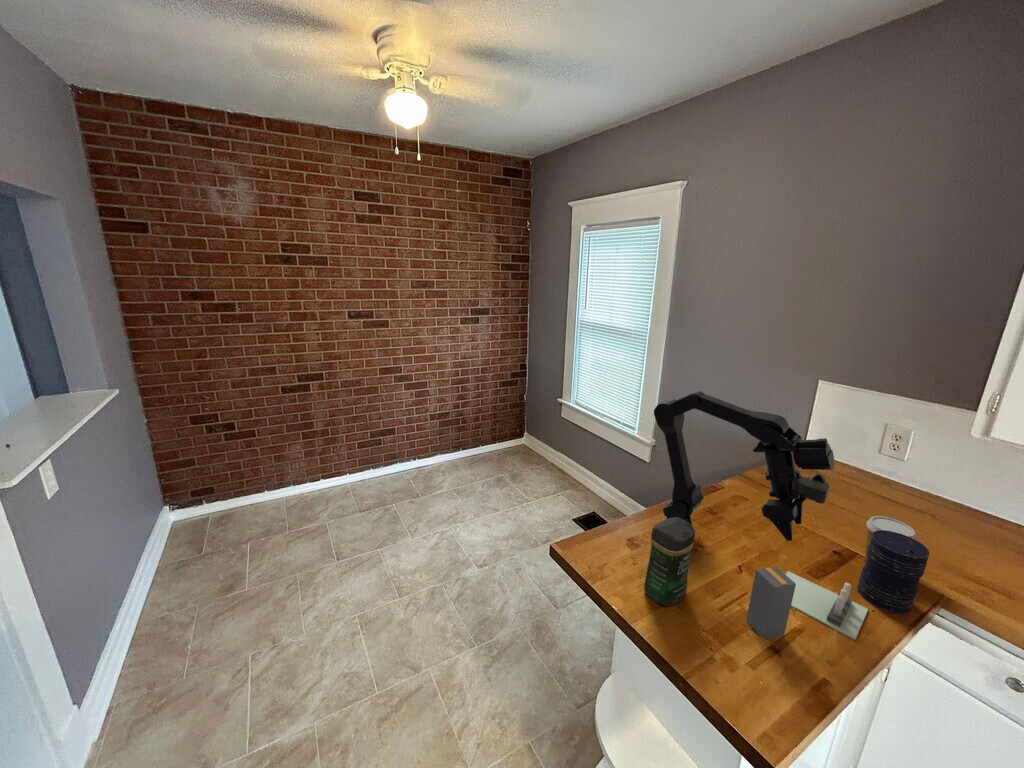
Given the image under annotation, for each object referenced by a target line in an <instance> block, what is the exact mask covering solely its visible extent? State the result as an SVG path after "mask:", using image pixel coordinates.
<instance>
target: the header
mask: <svg viewBox="0 0 1024 768" xmlns="http://www.w3.org/2000/svg"><path fill="white" fill-rule="evenodd" d="M784 574H785V575H786V576H788V577H789V578H790V579H791V580H792V581H793V582H794V583H796V587H795V591H794V595H793V599H792V604H791V608H793V609H795V610H798V611H799V612H801V613H803V614H804V615H806V616H809V617H810V618H813V619H815V620H816V621H818V622H819V623H822V624H824V625H825V626H828V627H829V628H831V629H833V630H834V631H837V632H838V633H841V634H842V635H845V636H847V637H848V638H851V639H852V640H854V641H856V639H857V638H858V636H859V635H858V634H859V633H860V630H861V628H862V626H863V623H864V621H865V618H866V616H867V614H868V611H869V608H867V607H864V606H863V605H860V604H858V603H856V602H854V601H853V599H852V598H851V597H850V593H851V589H852V584H851V583H849V582H845V583H844V584H843V588H841V589H840V593H835V592H833V591H832V590H829V589H827V588H825V587H823V586H820V585H819V584H816V583H814V582H812V581H811V580H810V581H809V580H808V579H805V578H803V577H802V576H799V575H797V574H795V573H793V572H791V571H789V570H788V571H786V573H784Z"/></svg>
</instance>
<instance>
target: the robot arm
mask: <svg viewBox="0 0 1024 768" xmlns="http://www.w3.org/2000/svg"><path fill="white" fill-rule="evenodd" d="M692 410H697V411H701V412H702V413H704V414H707V415H709V416H713V417H715V418H717V419H720V420H723V421H725V422H728V423H730V424H732V425H735V426H737V427H739V428H741V429H743V430H745V431H746V433H748V434H749V435H750V436H751V437H753V438H755V439H757V440H758V442H757V445H756V446H755V447H754V448H753V449H752V452H753V453H763V457H764V462H765V466H766V471H767V472H766V473H767V474H766V475H765V480H766V481H769V485H770V486H769V487H770V491H769V492H768V495H769V497H771V499H770V498H769V499H768V500H767V501H766V502H764V504H763V506H762V507H761V514H762V517H764V518H766V519H768V520H769V521H770V522H771V524H773V525H774V527H775V528H776V529H777V530H778V532H780V535H782V536H783V538H784V539H785V540H786V541H789V542H792V541H793V521H794V523H795V524H796V525H801V524H802V519H803V507H804V502H805V501H806V500H807V499H808V500H810V501H814V502H815V503H817V504H822V505H823V504H825V503H826V500H827V498H828V494H829V490H830V485H829V482H827V480H826V477H825V475H823V474H821V473H815V474H814V475H813V476H812V477H809V476H807V477H806V476H805V477H804V476H802V474H801V471H799V469H796V466H797V468H800V469H801V470H810V471H811V470H812V471H814V470H817V471H833V470H834V469H835V456H834V451H833V450H832V448H831V445H830V444H829V443H828V439H827V438H826V437H825V438H824V437H823V438H816V439H803V436H801V435H800V434H798V433H797V432H796V430H794V429H793V428H792V427H790V425H789V422H788V420H787V419H786V418H785V417H784V416H782V415H778V414H776V413H771V412H770V413H769V412H765V411H754V410H750V409H746V408H744V407H741V406H738V405H735V404H732V403H730V402H727V401H724V400H722V399H719V398H716V397H714V396H712V395H709V394H706V393H704V392H703V391H699V390H696V391H693V392H692V393H690V394H689V395H686V396H683V397H682V398H680V399H675V398H671V399H667V400H665V401H663V402H661V403H658V404H657V405H656V406H655V408H654V410H653V415H654V419H655V422H656V424H657V426H658V428H659V429H660V431H661V432H662V433H663V436H664V439H665V443H666V449H667V454H668V461H669V464H670V468H671V474H672V479H673V486H672V487H673V488H672V494H671V501H670V502H669V503H668V504H666V505H665V506H664V507H663V508H662V512H663V515H664V517H665V519H668V518H673V517H679V518H681V519H683V520H685V521H686V522H688V523H690V524H691V525H692V526H693V522H692V517H691V515H692V514H693V513H694V512H695V511H697V509H698V508H699V507H700V506H701V505H702V504H703V503H702V502H703V500H704V499H705V497H704V495H703V492H702V486H701V485H700V484H698V485H697V484H696V483H695V481H693V478H692V474H691V470H690V466H689V465H690V464H689V460H688V456H687V455H688V454H687V449H686V445H685V439H684V435H683V428H684V422H685V413H686V412H689V411H692ZM772 498H773V499H772ZM774 498H776V499H774ZM665 519H664V520H665Z"/></svg>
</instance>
